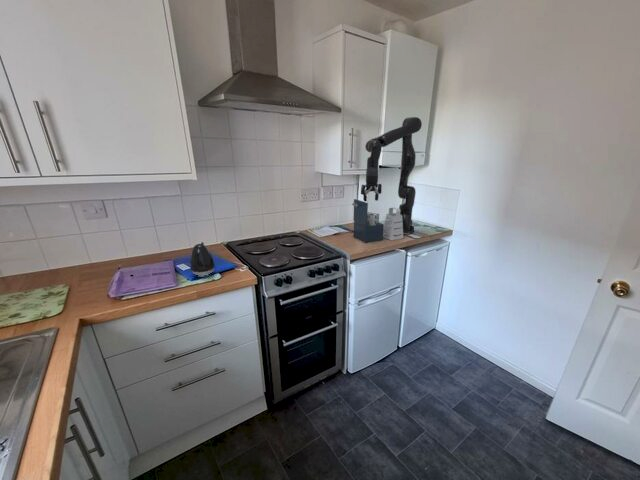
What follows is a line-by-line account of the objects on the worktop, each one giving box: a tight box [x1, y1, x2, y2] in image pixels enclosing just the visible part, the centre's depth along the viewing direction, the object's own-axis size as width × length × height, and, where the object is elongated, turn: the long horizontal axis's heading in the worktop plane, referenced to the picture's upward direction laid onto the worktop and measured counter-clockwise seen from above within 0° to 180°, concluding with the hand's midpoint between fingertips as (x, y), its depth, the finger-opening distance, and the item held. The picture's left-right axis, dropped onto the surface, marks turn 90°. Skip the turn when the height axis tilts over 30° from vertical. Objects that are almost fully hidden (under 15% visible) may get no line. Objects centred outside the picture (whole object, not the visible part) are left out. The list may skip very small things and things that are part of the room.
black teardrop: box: [189, 241, 216, 278], centre depth 137 cm, size 10×10×15 cm
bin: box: [352, 221, 384, 244], centre depth 199 cm, size 14×15×11 cm
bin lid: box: [352, 198, 369, 226], centre depth 189 cm, size 14×15×5 cm
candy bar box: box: [367, 211, 380, 226], centre depth 198 cm, size 11×5×16 cm, turn 57°
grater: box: [383, 206, 404, 241], centre depth 201 cm, size 10×10×20 cm
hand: (370, 200), depth 192 cm, fingers open, 8 cm apart
